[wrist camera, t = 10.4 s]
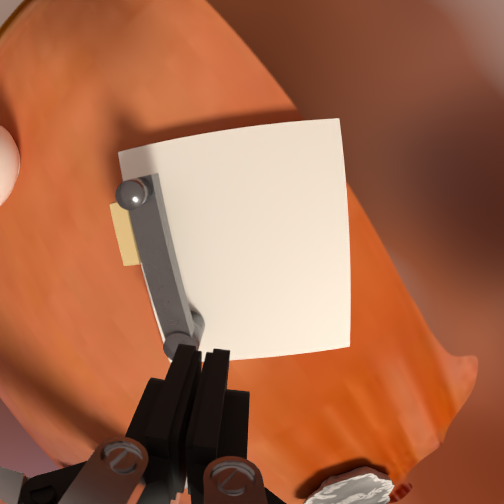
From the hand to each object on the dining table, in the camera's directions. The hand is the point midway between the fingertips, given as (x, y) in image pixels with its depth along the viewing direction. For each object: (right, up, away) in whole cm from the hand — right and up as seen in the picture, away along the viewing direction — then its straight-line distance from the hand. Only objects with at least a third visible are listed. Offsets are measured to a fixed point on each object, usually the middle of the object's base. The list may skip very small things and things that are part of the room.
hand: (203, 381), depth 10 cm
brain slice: (+19, -39, +34) cm, 56 cm away
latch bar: (-5, +3, +18) cm, 19 cm away
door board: (+1, +4, +20) cm, 20 cm away
